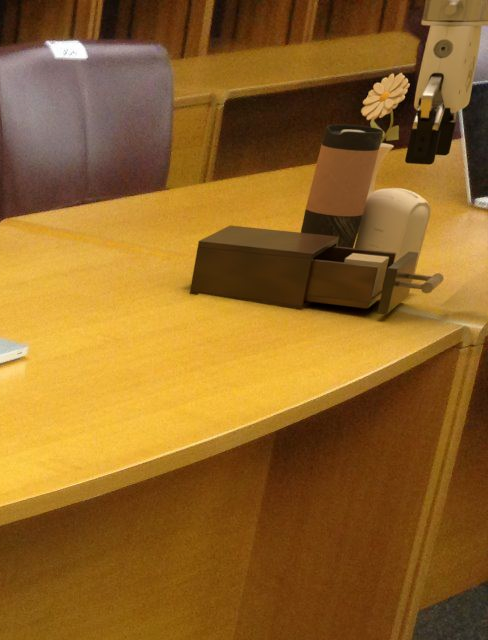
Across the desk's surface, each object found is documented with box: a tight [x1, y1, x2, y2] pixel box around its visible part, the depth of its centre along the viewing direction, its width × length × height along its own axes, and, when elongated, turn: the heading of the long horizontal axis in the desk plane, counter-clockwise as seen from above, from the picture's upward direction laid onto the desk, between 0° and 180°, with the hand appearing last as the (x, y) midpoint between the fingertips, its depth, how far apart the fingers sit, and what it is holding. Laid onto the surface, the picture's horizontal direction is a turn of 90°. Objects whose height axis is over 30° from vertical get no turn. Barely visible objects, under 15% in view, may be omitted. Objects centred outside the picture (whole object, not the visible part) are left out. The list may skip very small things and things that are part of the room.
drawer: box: [304, 246, 444, 315], centre depth 202 cm, size 18×13×6 cm
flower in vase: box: [358, 72, 411, 231], centre depth 248 cm, size 13×11×25 cm
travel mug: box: [300, 124, 384, 248], centre depth 220 cm, size 8×8×20 cm
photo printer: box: [353, 187, 432, 282], centre depth 218 cm, size 10×4×12 cm, turn 13°
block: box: [344, 253, 389, 297], centre depth 202 cm, size 4×4×4 cm
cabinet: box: [189, 225, 339, 311], centre depth 209 cm, size 15×15×8 cm
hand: (427, 159), depth 193 cm, fingers open, 9 cm apart
